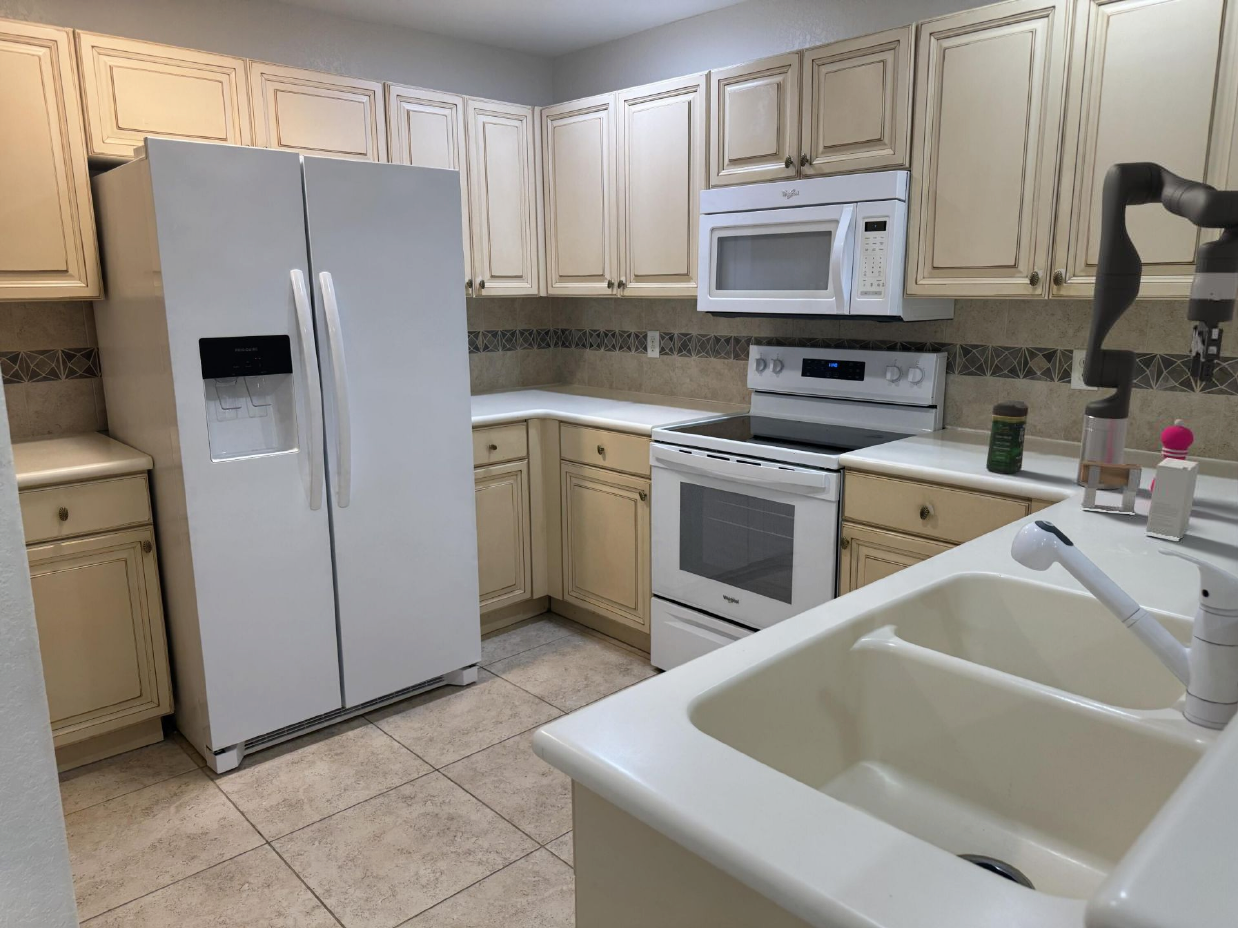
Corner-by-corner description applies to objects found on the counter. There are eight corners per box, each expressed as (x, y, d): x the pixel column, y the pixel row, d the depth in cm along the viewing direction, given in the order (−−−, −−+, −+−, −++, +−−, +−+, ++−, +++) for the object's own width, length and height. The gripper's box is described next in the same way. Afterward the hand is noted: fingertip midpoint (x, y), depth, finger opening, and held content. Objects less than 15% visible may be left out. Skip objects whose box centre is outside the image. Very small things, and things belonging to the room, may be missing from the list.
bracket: (1080, 505, 194) (1085, 460, 191) (1131, 510, 190) (1137, 464, 187) (1083, 512, 187) (1088, 466, 185) (1135, 517, 184) (1142, 470, 181)
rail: (1079, 478, 191) (1082, 461, 190) (1137, 483, 187) (1139, 465, 186) (1081, 482, 188) (1083, 464, 187) (1139, 487, 184) (1141, 468, 183)
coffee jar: (1013, 475, 222) (1020, 404, 218) (982, 471, 227) (988, 401, 224) (1025, 469, 229) (1033, 400, 225) (995, 465, 234) (1001, 397, 231)
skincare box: (1154, 528, 176) (1164, 456, 173) (1189, 534, 172) (1200, 461, 169) (1144, 536, 170) (1154, 463, 167) (1180, 543, 166) (1191, 467, 163)
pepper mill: (1150, 502, 196) (1163, 415, 192) (1188, 507, 192) (1201, 418, 188) (1145, 508, 191) (1157, 419, 187) (1183, 514, 186) (1197, 423, 182)
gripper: (1183, 296, 177) (1171, 375, 180) (1197, 297, 164) (1185, 382, 168) (1226, 296, 174) (1214, 376, 177) (1244, 297, 161) (1231, 384, 165)
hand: (1200, 379), depth 172 cm, fingers open, 8 cm apart
